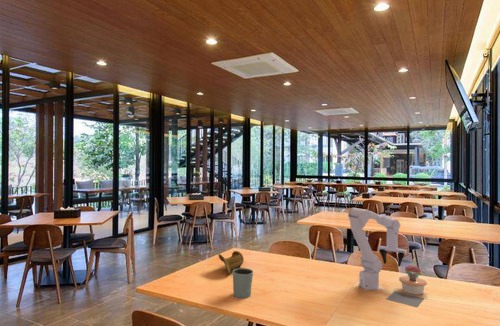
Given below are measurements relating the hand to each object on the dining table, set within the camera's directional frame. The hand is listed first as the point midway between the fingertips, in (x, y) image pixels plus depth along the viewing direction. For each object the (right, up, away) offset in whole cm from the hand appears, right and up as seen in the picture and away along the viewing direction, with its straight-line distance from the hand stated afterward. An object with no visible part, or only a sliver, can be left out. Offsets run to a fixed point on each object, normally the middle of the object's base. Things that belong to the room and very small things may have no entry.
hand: (392, 264), depth 183 cm
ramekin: (+6, -11, -12) cm, 17 cm away
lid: (+6, -5, -12) cm, 14 cm away
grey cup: (-83, -9, -20) cm, 86 cm away
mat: (-3, -10, -23) cm, 25 cm away
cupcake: (+17, -11, +10) cm, 22 cm away
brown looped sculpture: (-91, -10, +19) cm, 94 cm away
